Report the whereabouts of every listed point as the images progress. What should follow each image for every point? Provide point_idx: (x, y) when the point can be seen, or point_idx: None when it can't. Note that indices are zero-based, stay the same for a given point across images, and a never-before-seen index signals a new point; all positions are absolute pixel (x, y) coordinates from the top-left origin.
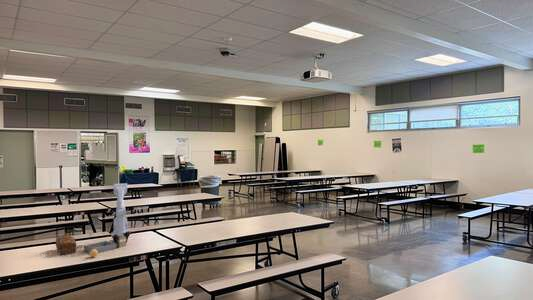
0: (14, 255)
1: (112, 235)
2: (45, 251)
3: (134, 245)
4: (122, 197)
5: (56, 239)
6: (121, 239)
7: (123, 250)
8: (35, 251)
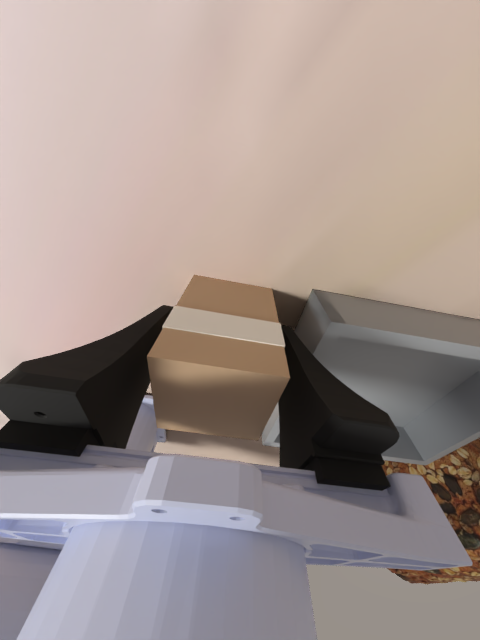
0: None
1: (430, 492)
2: None
3: (109, 188)
4: None
5: None
6: (252, 343)
7: (400, 98)
8: None
